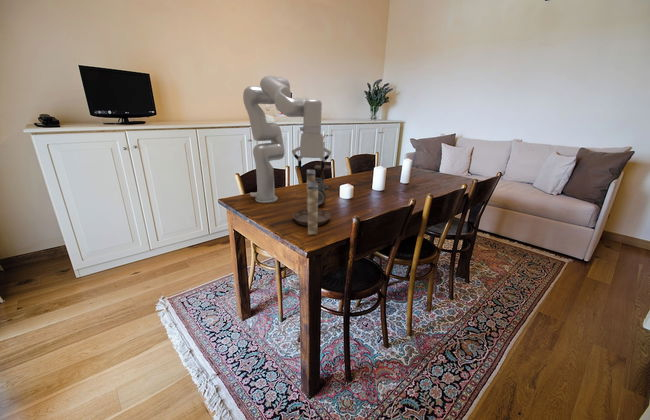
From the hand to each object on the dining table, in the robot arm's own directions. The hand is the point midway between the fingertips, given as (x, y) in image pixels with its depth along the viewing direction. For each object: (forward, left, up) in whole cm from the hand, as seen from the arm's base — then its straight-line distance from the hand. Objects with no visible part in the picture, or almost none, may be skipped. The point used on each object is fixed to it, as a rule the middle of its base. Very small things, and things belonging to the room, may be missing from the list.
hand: (311, 169), depth 126 cm
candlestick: (+9, +56, -25) cm, 62 cm away
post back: (0, +11, -24) cm, 27 cm away
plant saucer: (0, -1, -25) cm, 25 cm away
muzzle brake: (+4, +31, -25) cm, 40 cm away
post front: (0, -12, -24) cm, 27 cm away
